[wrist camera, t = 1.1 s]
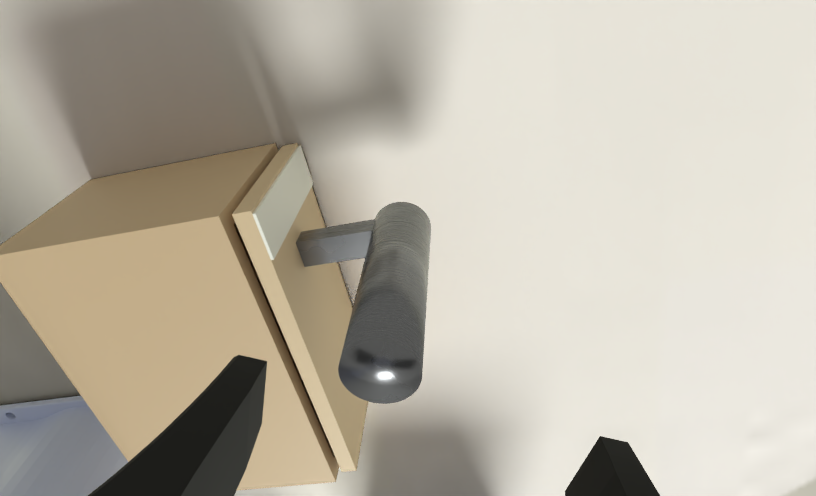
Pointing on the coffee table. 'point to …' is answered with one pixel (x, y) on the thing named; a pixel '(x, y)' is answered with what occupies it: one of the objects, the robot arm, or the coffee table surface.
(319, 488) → the coffee table surface
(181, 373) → the carton
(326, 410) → the wooden box lid
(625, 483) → the robot arm
